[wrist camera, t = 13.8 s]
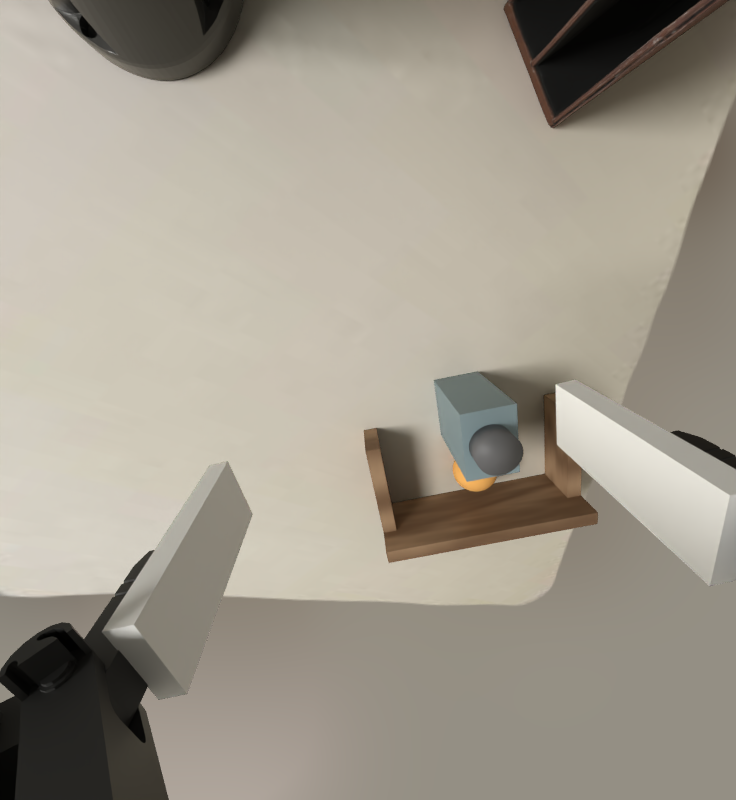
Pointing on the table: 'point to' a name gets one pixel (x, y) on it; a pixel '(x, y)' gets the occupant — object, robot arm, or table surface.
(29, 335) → the table surface
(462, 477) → the ball
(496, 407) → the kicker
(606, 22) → the letter holder
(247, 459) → the table surface
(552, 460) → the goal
